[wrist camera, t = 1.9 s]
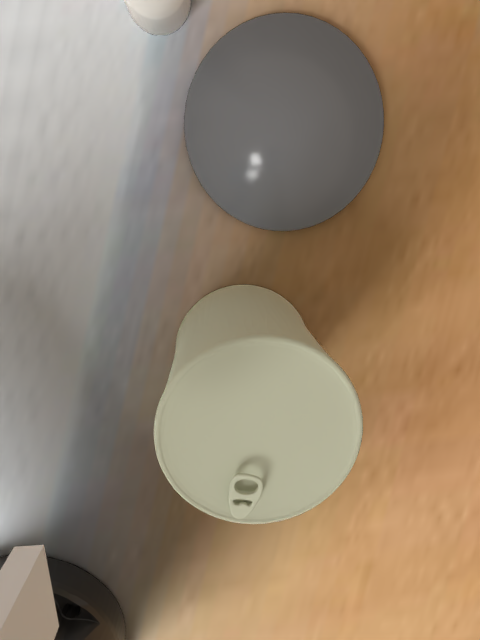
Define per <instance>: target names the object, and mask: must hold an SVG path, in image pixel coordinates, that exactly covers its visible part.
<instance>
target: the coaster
mask: <svg viewBox="0 0 480 640" xmlns="http://www.w3.org/2000/svg"><path fill="white" fill-rule="evenodd" d="M383 129H384V111H383V103H382V96H381V93H380V89H379V85H378V82H377V79H376V77H375V74H374V72H373V70H372V68H371V66H370V64H369V62H368V61H367V59H366V57H365V56H364V55H363V53H362V52H361V51H360V49H359V48H358V47H357V46H356V45H355V44H354V42H353V41H352V40H351V39H350V38H349V37H348V36H346V35H345V34H344V33H342V32H341V31H340V30H338V29H337V28H336V27H334V26H332V25H330V24H328V23H327V22H325V21H322V20H320V19H317V18H314V17H312V16H307V15H303V14H297V13H276V14H268V15H264V16H260V17H256V18H254V19H252V20H249V21H247V22H244V23H242V24H241V25H239V26H237V27H236V28H234V29H232V30H231V31H230V32H228V33H227V34H226V35H225V36H223V37H222V38H221V39H220V40H219V41H218V42H217V43H216V44H215V45H214V46H213V47H212V48H211V49H210V51H209V52H208V53H207V55H206V56H205V58H204V59H203V60H202V62H201V64H200V66H199V68H198V69H197V71H196V73H195V75H194V78H193V80H192V83H191V86H190V88H189V92H188V96H187V100H186V107H185V115H184V133H185V141H186V147H187V151H188V155H189V159H190V162H191V164H192V167H193V169H194V172H195V174H196V176H197V178H198V180H199V181H200V183H201V185H202V186H203V188H204V189H205V191H206V192H207V193H208V195H209V196H210V197H211V198H212V199H213V200H214V201H215V203H216V204H217V205H218V206H220V207H221V208H222V209H223V210H224V211H226V212H227V213H228V214H230V215H231V216H233V217H235V218H236V219H238V220H240V221H242V222H244V223H246V224H248V225H251V226H254V227H258V228H261V229H266V230H273V231H291V230H299V229H303V228H307V227H311V226H314V225H316V224H319V223H321V222H323V221H325V220H327V219H329V218H331V217H332V216H334V215H335V214H337V213H338V212H339V211H341V210H342V209H344V208H345V207H346V206H347V205H348V204H349V203H350V202H351V201H352V200H353V199H354V198H355V197H356V195H357V194H358V193H359V192H360V191H361V189H362V188H363V186H364V185H365V183H366V182H367V180H368V179H369V177H370V175H371V173H372V171H373V169H374V166H375V164H376V161H377V158H378V155H379V152H380V148H381V143H382V138H383Z"/></svg>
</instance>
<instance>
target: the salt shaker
mask: <svg viewBox="0 0 480 640" xmlns="http://www.w3.org/2000/svg"><path fill="white" fill-rule="evenodd" d="M124 2H125V4H126V6H127V9H128V11H129V13H130V15H131V17H132V19H133V20H134V22H135V23H136V24H137V25H138V26H139V27H140V28H141V29H143V30H144V31H146V32H148V33H150V34H153V35H158V36H163V35H168V34H171V33H173V32H175V31H177V30H178V29H179V28H180V27H181V26H182V25H183V24H184V22H185V21H186V19H187V17H188V14H189V11H190V5H191V0H124Z"/></svg>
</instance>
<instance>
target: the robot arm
mask: <svg viewBox="0 0 480 640" xmlns="http://www.w3.org/2000/svg"><path fill="white" fill-rule="evenodd" d="M125 632H126V630H125V621H124V617H123V614H122V611H121V608H120V606H119V604H118V603H117V601H116V599H115V598H114V596H113V595H112V594H111V592H110V591H109V590H108V589H107V588H106V587H105V586H104V585H103V584H102V583H101V582H100V581H99V580H98V579H96V578H95V577H93V576H92V575H91V574H89V573H87V572H86V571H84V570H82V569H80V568H78V567H76V566H74V565H72V564H69V563H67V562H63V561H60V560H57V559H53V558H48V557H46V553H45V548H44V545H31V546H17V547H14V548H13V550H12V551H11V553H10V555H9V556H6V557H0V640H125Z"/></svg>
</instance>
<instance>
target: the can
mask: <svg viewBox="0 0 480 640" xmlns="http://www.w3.org/2000/svg"><path fill="white" fill-rule="evenodd" d="M362 434H363V416H362V410H361V405H360V402H359V398H358V395H357V393H356V390H355V388H354V386H353V384H352V383H351V381H350V379H349V377H348V376H347V375H346V373H345V372H344V371H343V369H342V368H341V367H340V366H339V365H338V364H337V363H336V362H335V361H334V360H333V359H332V358H331V357H329V355H328V354H327V353H326V352H325V351H324V349H323V348H322V347H321V346H320V344H319V343H318V342H317V341H316V339H315V338H314V337H313V336H312V334H311V333H310V332H309V330H308V329H307V328H306V326H305V324H304V322H303V320H302V318H301V316H300V314H299V313H298V312H297V310H296V309H295V308H294V307H293V306H292V304H291V303H290V302H288V301H287V300H286V299H285V298H284V297H282V296H281V295H279V294H277V293H275V292H273V291H271V290H269V289H266V288H263V287H259V286H254V285H233V286H228V287H224V288H221V289H218V290H216V291H213V292H211V293H210V294H208V295H206V296H205V297H203V298H202V299H201V300H199V301H198V302H197V303H196V304H195V305H194V306H193V307H192V308H191V309H190V310H189V312H188V313H187V314H186V316H185V317H184V319H183V321H182V323H181V325H180V328H179V331H178V334H177V338H176V346H175V356H174V360H173V363H172V367H171V371H170V374H169V378H168V381H167V384H166V388H165V391H164V392H163V394H162V397H161V399H160V401H159V404H158V407H157V411H156V416H155V422H154V444H155V451H156V455H157V458H158V461H159V464H160V467H161V469H162V471H163V473H164V475H165V476H166V478H167V480H168V481H169V483H170V484H171V485H172V487H173V488H174V489H175V490H176V492H177V493H178V494H179V495H180V496H181V497H182V498H184V499H185V500H186V501H187V502H188V503H190V504H191V505H192V506H194V507H195V508H197V509H199V510H201V511H203V512H204V513H206V514H209V515H211V516H213V517H216V518H219V519H222V520H225V521H230V522H234V523H241V524H266V523H272V522H278V521H282V520H286V519H289V518H292V517H295V516H298V515H300V514H302V513H304V512H306V511H308V510H310V509H312V508H314V507H315V506H317V505H318V504H320V503H321V502H323V501H324V500H325V499H326V498H328V497H329V496H330V495H331V494H332V493H333V492H334V491H335V490H336V489H337V488H338V487H339V486H340V485H341V484H342V482H343V481H344V480H345V478H346V477H347V475H348V474H349V472H350V470H351V468H352V467H353V465H354V463H355V460H356V458H357V455H358V453H359V449H360V445H361V441H362Z"/></svg>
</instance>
